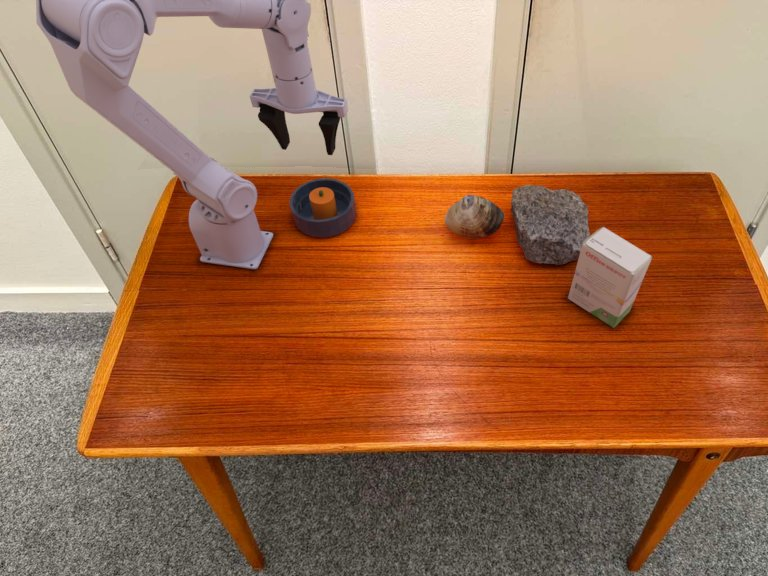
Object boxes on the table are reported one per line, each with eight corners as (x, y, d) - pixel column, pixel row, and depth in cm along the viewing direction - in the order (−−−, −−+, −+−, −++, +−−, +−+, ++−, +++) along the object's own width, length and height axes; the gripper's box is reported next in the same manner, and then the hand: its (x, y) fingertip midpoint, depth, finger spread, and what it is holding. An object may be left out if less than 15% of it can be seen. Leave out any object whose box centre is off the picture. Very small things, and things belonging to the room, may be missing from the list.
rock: (589, 272, 99) (581, 208, 108) (598, 242, 94) (589, 178, 103) (509, 267, 99) (507, 204, 108) (513, 237, 94) (512, 173, 103)
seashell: (443, 246, 102) (443, 208, 95) (445, 221, 105) (445, 183, 99) (502, 248, 102) (506, 211, 95) (502, 223, 105) (506, 186, 98)
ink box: (566, 298, 95) (579, 243, 86) (586, 280, 98) (601, 224, 88) (613, 329, 92) (633, 275, 82) (633, 309, 94) (654, 254, 85)
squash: (312, 223, 104) (306, 200, 100) (314, 206, 106) (309, 183, 102) (336, 223, 104) (331, 199, 100) (338, 206, 106) (334, 183, 102)
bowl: (285, 235, 103) (280, 217, 100) (305, 193, 109) (301, 174, 106) (347, 243, 102) (344, 225, 99) (363, 200, 108) (361, 182, 105)
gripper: (348, 60, 92) (358, 138, 103) (254, 50, 94) (274, 128, 105) (334, 87, 88) (347, 165, 99) (236, 76, 89) (259, 155, 100)
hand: (308, 148), depth 101 cm, fingers open, 7 cm apart
